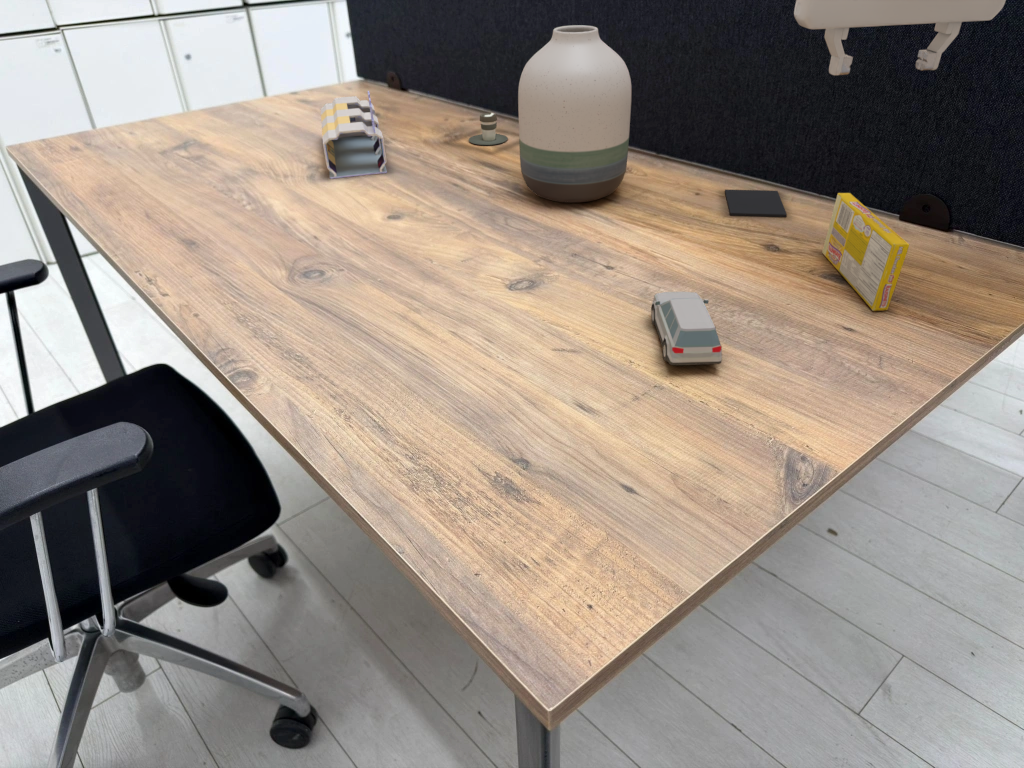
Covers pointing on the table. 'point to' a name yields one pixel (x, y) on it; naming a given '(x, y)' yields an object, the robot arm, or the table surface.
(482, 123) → the striped post on disc
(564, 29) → the vase
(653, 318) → the toy car
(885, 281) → the candy box
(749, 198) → the mat
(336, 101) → the diorama
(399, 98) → the table surface
